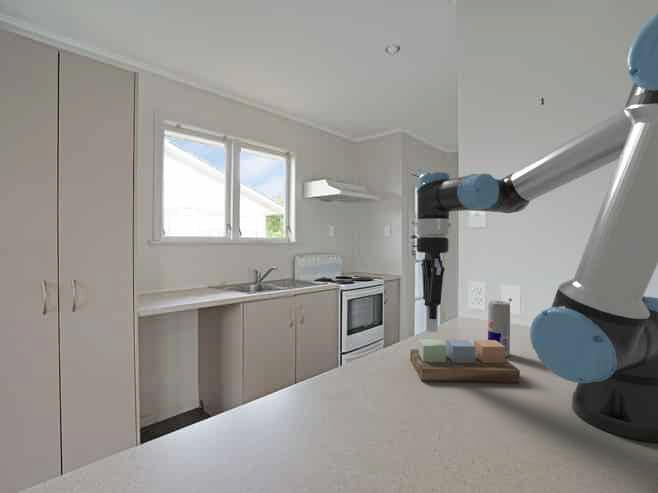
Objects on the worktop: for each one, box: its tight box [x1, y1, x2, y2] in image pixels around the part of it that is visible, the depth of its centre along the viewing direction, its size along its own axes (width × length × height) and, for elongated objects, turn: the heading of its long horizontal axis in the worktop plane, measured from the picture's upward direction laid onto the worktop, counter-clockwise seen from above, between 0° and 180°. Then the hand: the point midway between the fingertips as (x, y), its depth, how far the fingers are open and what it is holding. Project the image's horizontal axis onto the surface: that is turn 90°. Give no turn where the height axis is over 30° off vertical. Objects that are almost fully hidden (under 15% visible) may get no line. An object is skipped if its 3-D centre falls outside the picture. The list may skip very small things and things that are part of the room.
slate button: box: [445, 339, 476, 363], centre depth 86 cm, size 5×5×4 cm
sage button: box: [418, 338, 446, 362], centre depth 86 cm, size 5×5×4 cm
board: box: [409, 348, 521, 384], centre depth 86 cm, size 14×22×3 cm, turn 87°
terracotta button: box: [473, 339, 506, 363], centre depth 86 cm, size 5×5×4 cm
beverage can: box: [487, 300, 511, 357], centre depth 98 cm, size 6×6×15 cm
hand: (431, 330), depth 86 cm, fingers closed
